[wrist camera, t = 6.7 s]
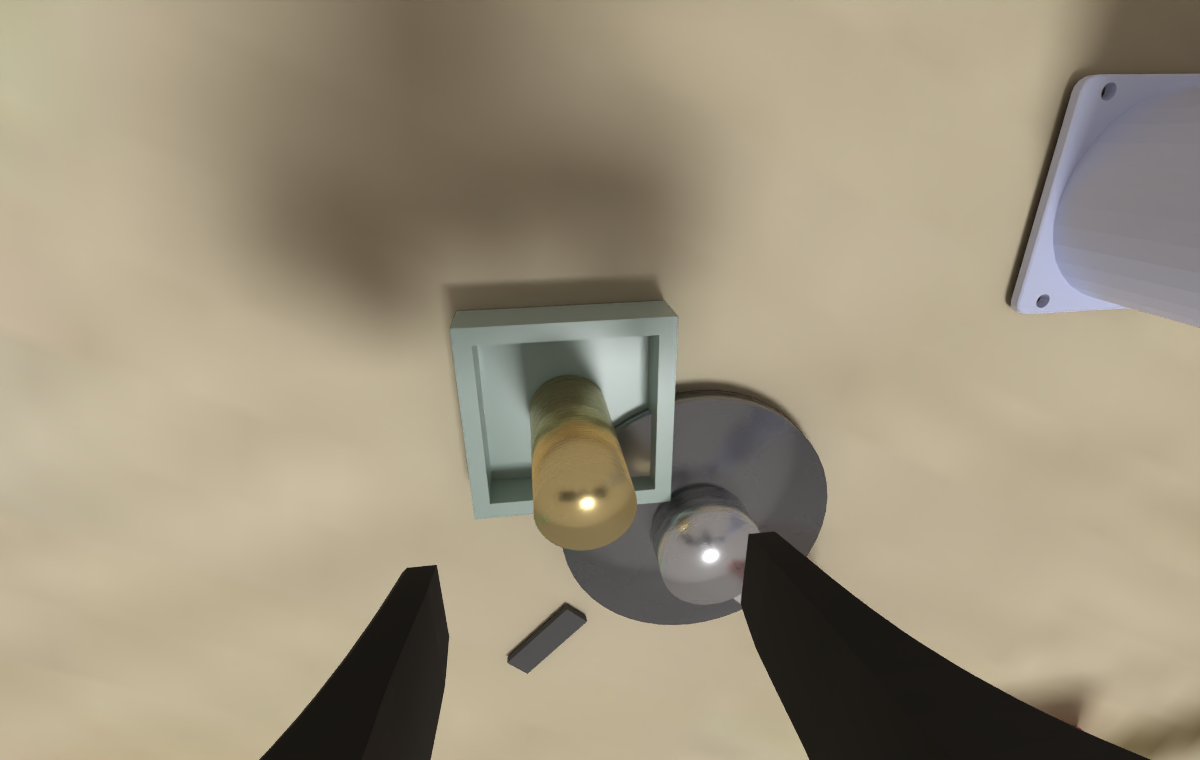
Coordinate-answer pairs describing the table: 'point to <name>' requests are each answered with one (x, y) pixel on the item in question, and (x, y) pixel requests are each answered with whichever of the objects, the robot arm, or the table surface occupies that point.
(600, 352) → the tray
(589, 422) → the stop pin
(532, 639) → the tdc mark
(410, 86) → the table surface
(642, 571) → the dark gray disc
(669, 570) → the crank
